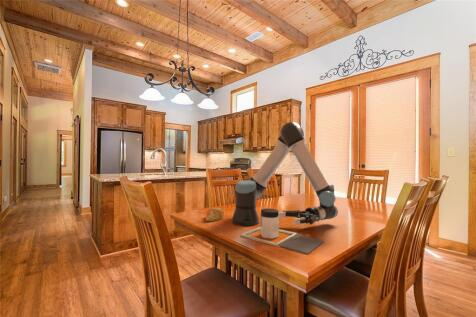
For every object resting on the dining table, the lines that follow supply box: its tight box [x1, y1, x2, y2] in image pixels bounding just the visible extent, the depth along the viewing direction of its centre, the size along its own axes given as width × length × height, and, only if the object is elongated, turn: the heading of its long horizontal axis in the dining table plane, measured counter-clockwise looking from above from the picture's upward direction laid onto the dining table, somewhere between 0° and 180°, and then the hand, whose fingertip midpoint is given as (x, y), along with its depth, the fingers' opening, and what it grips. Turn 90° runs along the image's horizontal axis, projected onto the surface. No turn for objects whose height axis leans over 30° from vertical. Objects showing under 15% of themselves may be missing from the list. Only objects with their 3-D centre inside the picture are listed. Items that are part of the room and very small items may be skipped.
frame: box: [240, 226, 298, 248], centre depth 108 cm, size 19×19×1 cm
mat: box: [279, 234, 325, 255], centre depth 97 cm, size 12×18×1 cm, turn 141°
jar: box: [259, 208, 280, 240], centre depth 108 cm, size 9×8×12 cm
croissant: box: [205, 206, 225, 222], centre depth 139 cm, size 21×10×8 cm, turn 161°
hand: (284, 218), depth 112 cm, fingers open, 13 cm apart
